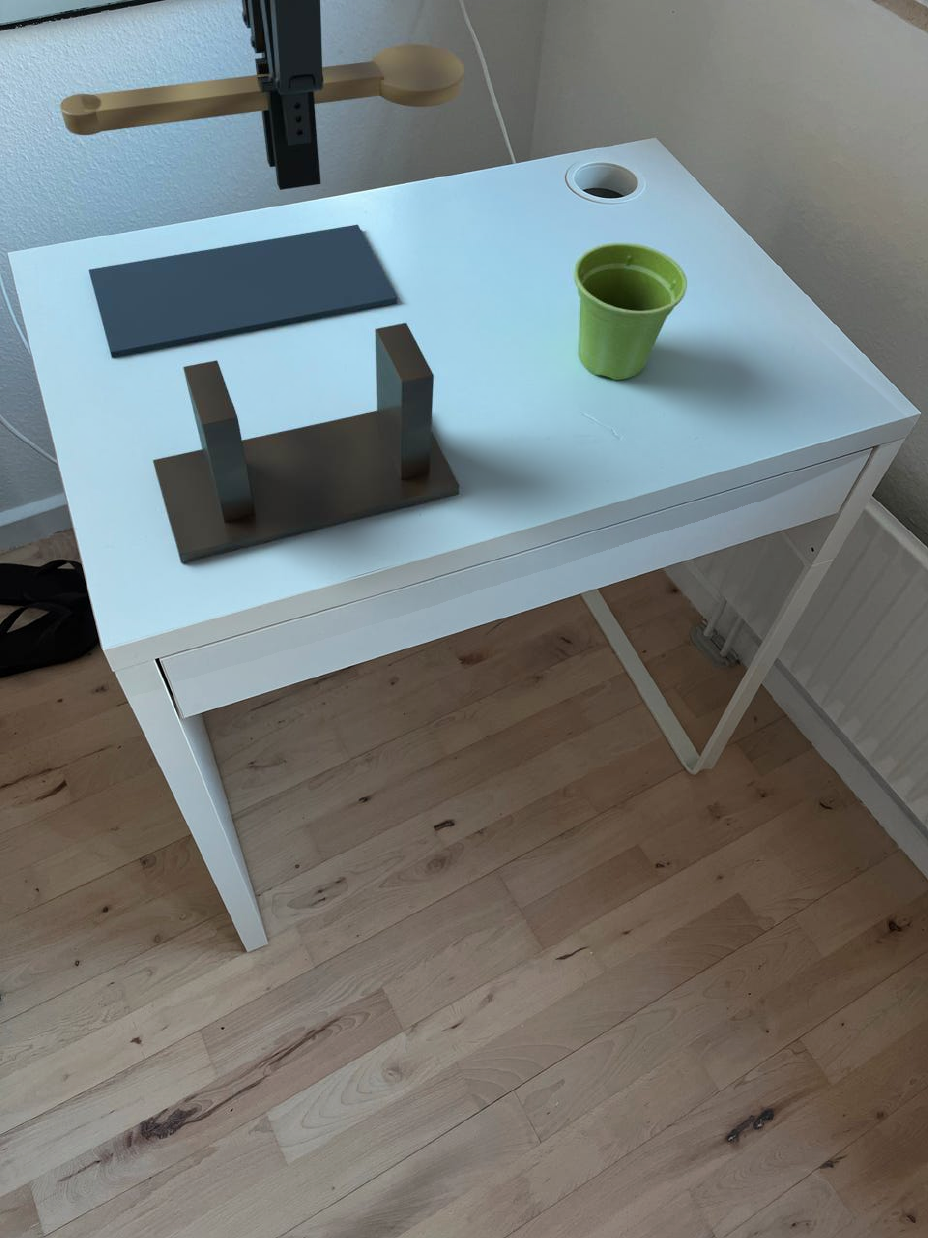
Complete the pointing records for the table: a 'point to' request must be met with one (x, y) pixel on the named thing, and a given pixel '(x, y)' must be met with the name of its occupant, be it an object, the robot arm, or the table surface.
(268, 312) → the mat
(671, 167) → the table surface
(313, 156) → the robot arm
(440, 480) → the rack
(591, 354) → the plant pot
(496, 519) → the table surface
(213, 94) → the ladle
